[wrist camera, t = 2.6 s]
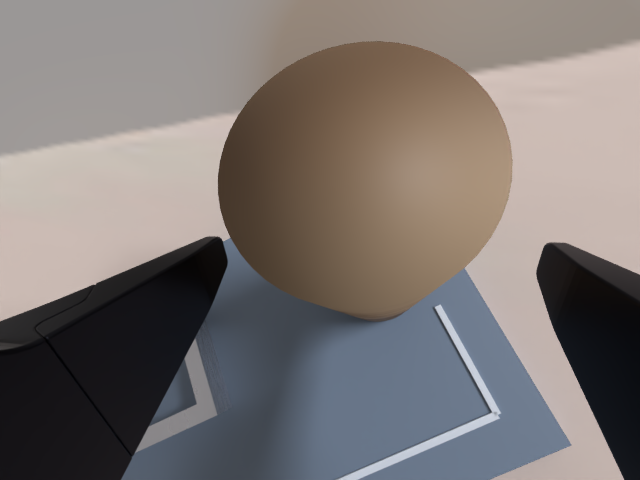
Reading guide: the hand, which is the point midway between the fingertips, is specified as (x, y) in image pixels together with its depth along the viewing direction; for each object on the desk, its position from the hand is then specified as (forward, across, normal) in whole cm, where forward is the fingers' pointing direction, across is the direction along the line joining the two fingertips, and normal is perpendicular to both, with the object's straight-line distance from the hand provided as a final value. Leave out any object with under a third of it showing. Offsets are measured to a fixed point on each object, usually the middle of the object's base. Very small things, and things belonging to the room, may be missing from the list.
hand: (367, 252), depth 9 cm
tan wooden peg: (+5, 0, +5) cm, 7 cm away
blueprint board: (+2, +5, +9) cm, 11 cm away
